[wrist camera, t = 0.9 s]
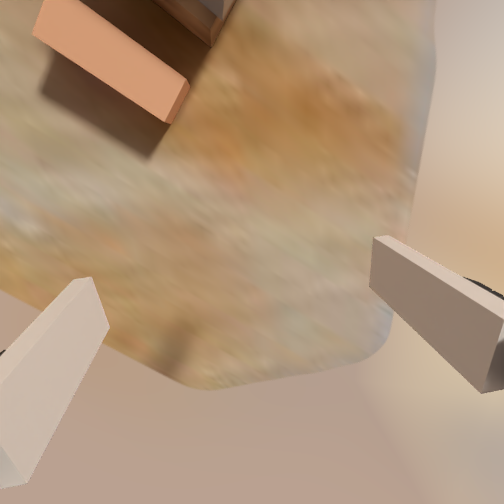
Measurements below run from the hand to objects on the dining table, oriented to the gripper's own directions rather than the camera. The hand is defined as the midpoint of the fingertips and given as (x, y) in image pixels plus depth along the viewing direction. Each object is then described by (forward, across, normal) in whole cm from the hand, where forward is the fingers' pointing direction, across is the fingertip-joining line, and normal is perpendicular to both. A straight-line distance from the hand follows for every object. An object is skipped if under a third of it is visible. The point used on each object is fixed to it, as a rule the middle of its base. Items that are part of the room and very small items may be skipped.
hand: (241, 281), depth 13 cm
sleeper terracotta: (+21, -7, +13) cm, 26 cm away
